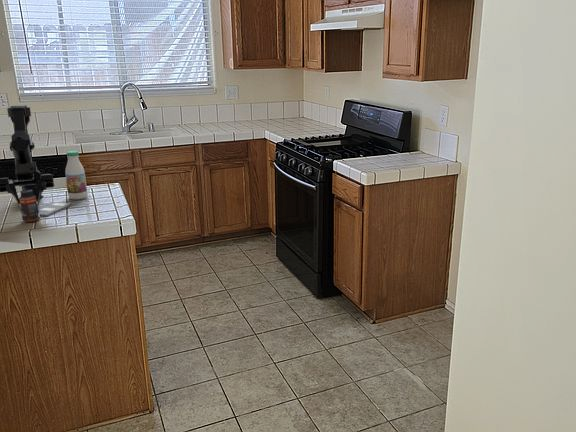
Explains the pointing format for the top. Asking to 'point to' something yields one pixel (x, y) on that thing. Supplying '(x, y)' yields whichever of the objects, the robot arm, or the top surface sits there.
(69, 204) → the label panel
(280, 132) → the top surface
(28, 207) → the supplement bottle
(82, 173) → the milk bottle
